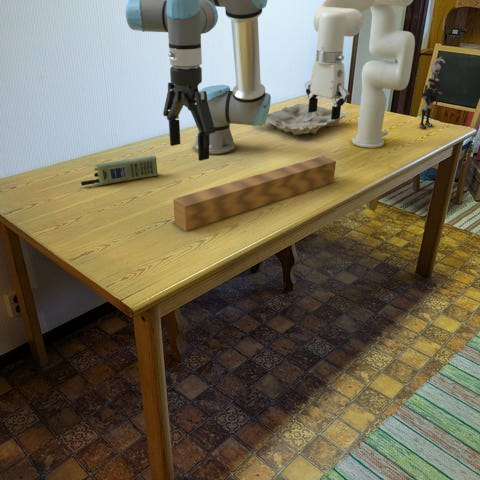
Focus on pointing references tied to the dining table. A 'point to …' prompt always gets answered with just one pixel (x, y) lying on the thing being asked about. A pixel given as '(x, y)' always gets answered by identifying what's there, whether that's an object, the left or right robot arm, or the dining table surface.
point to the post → (251, 192)
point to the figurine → (431, 92)
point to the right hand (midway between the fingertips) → (323, 115)
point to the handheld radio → (124, 170)
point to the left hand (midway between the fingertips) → (189, 151)
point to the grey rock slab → (302, 119)
